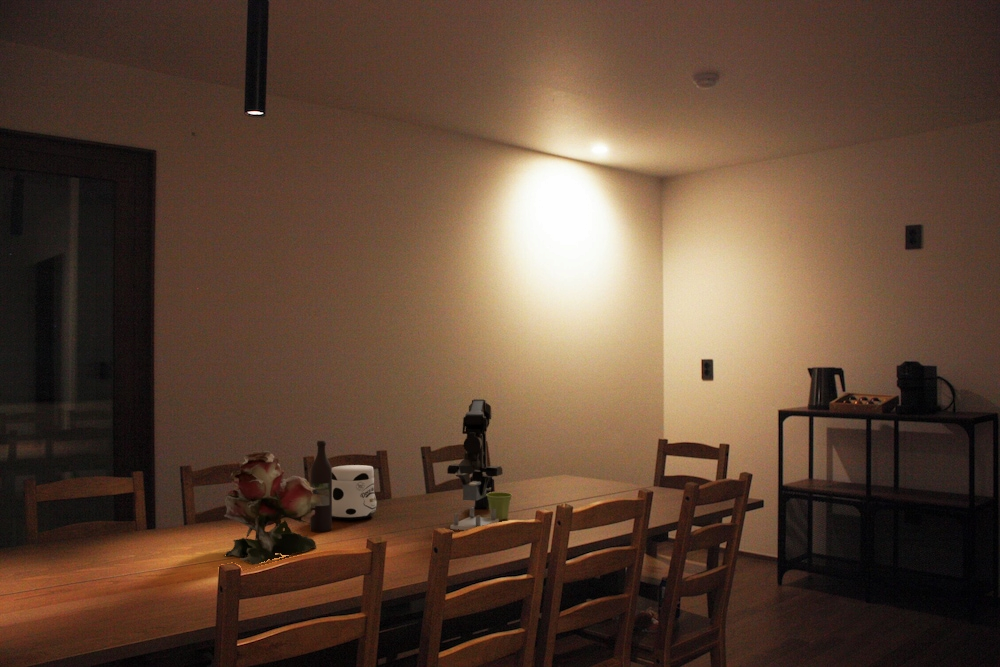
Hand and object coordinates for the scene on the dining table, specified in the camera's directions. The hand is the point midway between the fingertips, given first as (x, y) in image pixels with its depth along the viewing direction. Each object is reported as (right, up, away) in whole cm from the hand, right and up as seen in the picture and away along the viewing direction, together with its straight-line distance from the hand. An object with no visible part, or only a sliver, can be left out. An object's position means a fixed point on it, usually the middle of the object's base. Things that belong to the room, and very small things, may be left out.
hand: (474, 495), depth 274 cm
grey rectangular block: (0, -1, 0) cm, 1 cm away
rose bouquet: (-62, -10, -34) cm, 72 cm away
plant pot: (+8, -11, +11) cm, 18 cm away
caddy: (0, -10, 0) cm, 10 cm away
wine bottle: (-52, -11, -7) cm, 53 cm away
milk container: (-45, -11, +14) cm, 48 cm away
